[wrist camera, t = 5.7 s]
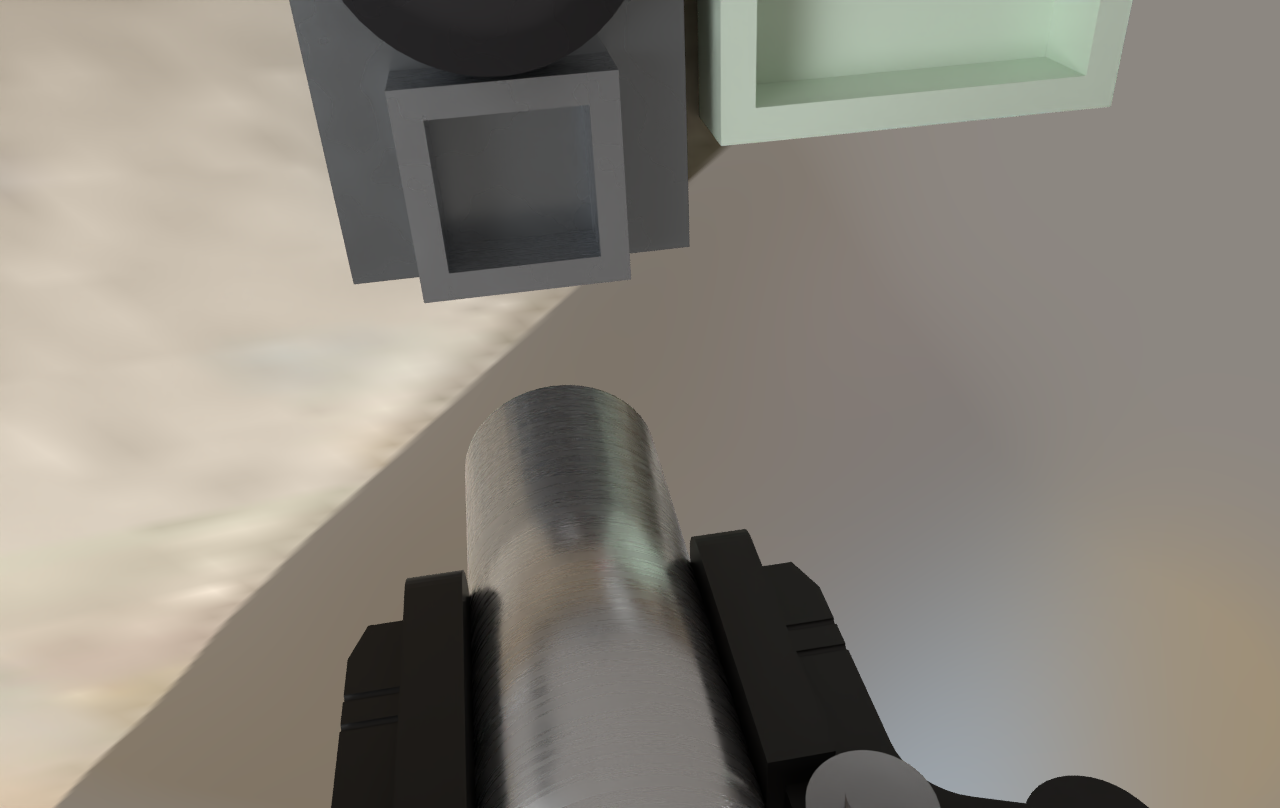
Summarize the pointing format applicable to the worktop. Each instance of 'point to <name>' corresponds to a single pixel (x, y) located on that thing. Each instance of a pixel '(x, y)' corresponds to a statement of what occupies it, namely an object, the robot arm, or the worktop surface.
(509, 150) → the tensioner block
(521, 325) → the worktop surface
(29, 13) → the worktop surface
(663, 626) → the pin
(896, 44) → the tray
